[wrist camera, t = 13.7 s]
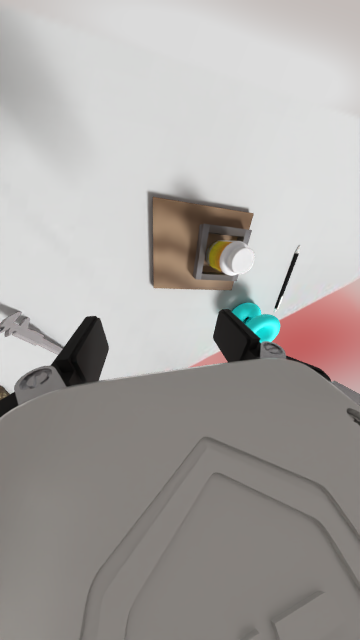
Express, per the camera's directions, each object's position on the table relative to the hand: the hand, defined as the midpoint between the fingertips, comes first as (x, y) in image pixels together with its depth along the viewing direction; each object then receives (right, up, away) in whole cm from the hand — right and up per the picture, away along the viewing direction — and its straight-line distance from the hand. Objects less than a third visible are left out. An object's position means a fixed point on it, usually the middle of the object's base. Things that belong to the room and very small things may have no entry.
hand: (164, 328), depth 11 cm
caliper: (-31, -5, +25) cm, 40 cm away
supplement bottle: (+9, +15, +19) cm, 26 cm away
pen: (+32, +11, +28) cm, 44 cm away
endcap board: (+5, +16, +19) cm, 25 cm away
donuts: (+21, +2, +31) cm, 38 cm away
